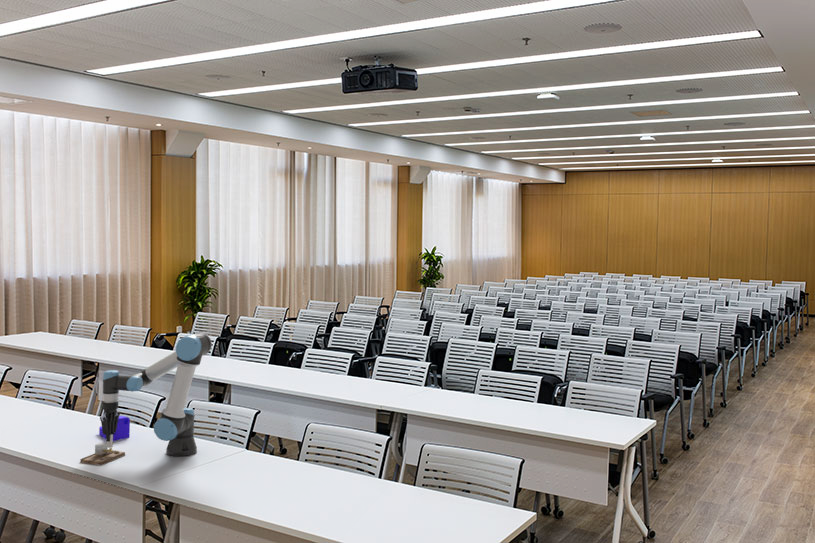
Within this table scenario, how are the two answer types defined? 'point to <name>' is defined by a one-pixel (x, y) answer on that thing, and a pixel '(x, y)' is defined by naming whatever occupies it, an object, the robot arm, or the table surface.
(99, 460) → the wooden knob panel
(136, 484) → the table surface
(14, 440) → the table surface
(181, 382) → the robot arm
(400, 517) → the table surface
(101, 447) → the slider with brass pointer
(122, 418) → the bracket
